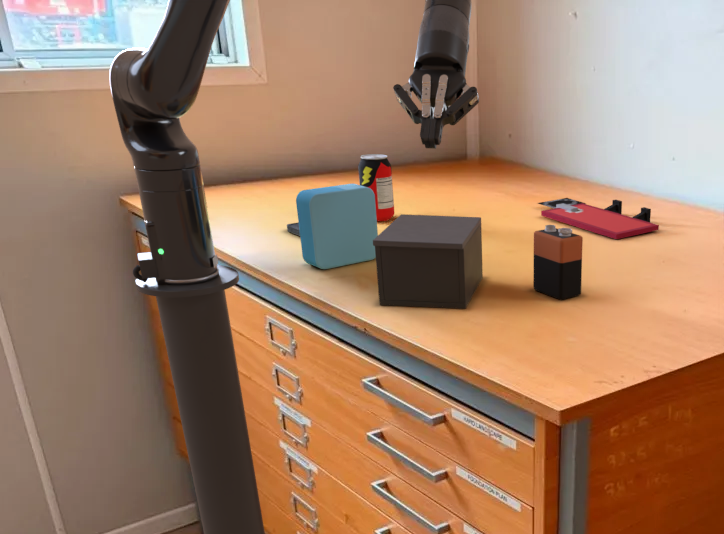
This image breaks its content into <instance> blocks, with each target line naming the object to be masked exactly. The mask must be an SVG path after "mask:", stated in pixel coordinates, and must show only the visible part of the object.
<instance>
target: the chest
mask: <svg viewBox="0 0 724 534" xmlns="http://www.w3.org/2000/svg"><path fill="white" fill-rule="evenodd" d="M482 235H483V233H482V222H481V223H480V225H479V226H478V228H477V229H476V230H475V232H474V233H473V235H472V236H471V238H470V239H469V241H468V242H467V244H466V245H465V246H464V248H463V249H439V248H414V247H389V246H375V255H376V258H375V264H376V266H375V267H376V279H377V290H378V304H379V306H391V307H416V308H435V309H436V308H437V309H439V308H440V309H459V310H462V309H464V310H465V309H467V307H468V305H469V303H470V302H471V300H472V298H473V297H474V295H475V293H476V291H477V289H478V288H479V286H480V283H481V282H482V280H483V278H484V276H483V275H484V274H483V243H482V242H483V237H482Z"/></svg>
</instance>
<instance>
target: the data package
mask: <svg viewBox="0 0 724 534" xmlns="http://www.w3.org/2000/svg"><path fill="white" fill-rule="evenodd" d="M295 204H296V213H297V220H298V221H297V223H298V222H299V230H300V236H299V237H300V245H301V255H302V259H303V261H304V262H305V263H307V264H308V265H311V266H313V267H316V268H319V269H321V270H330V269H334V268H335V269H336V268H339V267H345V266H349V265H353V264H359V263H364V262H368V261H374V260H376V255H375V246H373V240H374V239H375V238H376V237H377V236H378V235H379V232H378V231H379V230H378V221H377V218H376V205H375V195H374V192H373V191H372V189H370V188H368V187H364V186H361V185H360V184H357V183H346V184H338V185H331V186H324V187H323V186H322V187H316V188H309V189H303V190H300V191H299V192H298V193H297V195H296V199H295Z"/></svg>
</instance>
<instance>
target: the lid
mask: <svg viewBox="0 0 724 534" xmlns="http://www.w3.org/2000/svg"><path fill="white" fill-rule="evenodd" d="M480 223H481V224H482V217H481V216H479V217H478V216H458V215H456V216H455V215H428V214H401V213H400V215H398V216H397V217H396V218H395V219H394V220H393V221H392V222H391V223H390V224H389V225H388V226H387V227H386V228H384V229H383V230H382V231H381V232H380V233H378V236H377V237H376V238H375V239H374V240H373V246H389V247H414V248H439V249H463V248H464V246H465V245H466V244H467V242H468V241H469V239H470V238H471V236H472V235H473V233H474V232H475V230H476V229H477V228H478V226H479V225H480Z"/></svg>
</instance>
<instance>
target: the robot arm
mask: <svg viewBox="0 0 724 534" xmlns="http://www.w3.org/2000/svg"><path fill="white" fill-rule="evenodd" d="M230 2H231V0H168V1H167V7H166V9H165V13H164V16H163V19H162V21H161V24H160V25H159V28H158V30H157V32H156V34H155V36H154V38H153V40H152V41H151V44H150V45H149V47H148V48H145V47H132V48H127V49H125V50H122V51H121V52H119V53H118V54H117V55H116V56H115V57H114V59H113V61H112V63H111V65H110V69H109V86H110V93H111V99H112V102H113V107H114V110H115V114H116V118H117V119H116V120H117V123H118V127H119V131H120V135H121V139H122V141H123V144H124V146H125V148H126V150H127V151H128V153H129V155H130V157H131V161H132V166H133V169H134V175H135V179H136V184H137V189H138V194H139V200H140V205H141V210H142V215H143V221H144V226H145V231H146V236H147V241H148V246H149V251H148V252H147V251H146V252H138V253H137V254H136V255H137V260H138V264H136V265H135V267H134V268H133V269H132V275H133V277H134V278H135V279H138V280H141V281H143V282H146V281H147V280H148V278H155V279H156V281H157V285H192V284H199V283H203V282H207V281H211V280H213V279H215V278H217V277H218V276H219V271H218V268H217V265H219V259H218V254H216V252H215V246H214V240H213V234H212V228H211V221H210V214H209V209H208V204H207V197H206V191H205V186H204V179H203V173H202V168H201V162H200V155H199V151H198V148H197V146H196V145H195V144H194V143H193V141H192V140H191V139H190V138H189V137H188V136H187V135H186V132H185V131H184V128H183V127H182V124H181V119H180V118H181V117H182V118H183V116H185V115H186V114H187V113H188V112H189V111H190V110H191V109H192V107H193V106H194V104H195V102H196V100H197V97H198V94H199V91H200V88H201V84H202V81H203V78H204V74H205V71H206V67H207V64H208V60H209V56H210V53H211V49H212V46H213V44H214V41H215V37H216V35H217V33H218V30H219V29H220V26H221V24H222V21H223V19H224V17H225V14H226V12H227V9H228V7H229V4H230ZM423 6H424V7H423V14H422V20H421V22H420V25H419V30H418V37H417V43H416V50H415V56H414V57H415V58H414V66H413V71H412V74H410V76H409V77H408V82H407V83H405V84H403V85H401V84H399V83H397V84H394V85H393V87H392V89H393V93H394V95H395V98H396V101H397V102H398V104H399V105H400V107H401V108H402V109H403V110H404V111H405V113H406V114H407V115H408V117H409V118H410V119H411V121H412V122H413V123H414V124H415V125H420V130H419V131H420V132H419V137H420V140H421V144H422V145H424V147H425V149H434V150H436V149H437V146H440V144H441V143H442V138H443V129H444V127H445V126H446V125H450V126H455V125H457V123H459V122H460V121H461V120H462V119H464V117H466V115H467V114H469V113H470V111H472V110H473V109H474V108H475V107H476V106H477V105H479V103H480V96H479V92H478V88H477V87H476V86H469V85H468V83H467V78H466V70H467V63H468V54H469V52H470V51H469V50H470V23H471V15H472V0H424V5H423ZM412 93H413V94H414V95H415V97H416V98H417V100H418V101H419V103H420V104H421V109H419V107H418V105H416V103H415V102H414V100H413V96H412Z"/></svg>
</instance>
